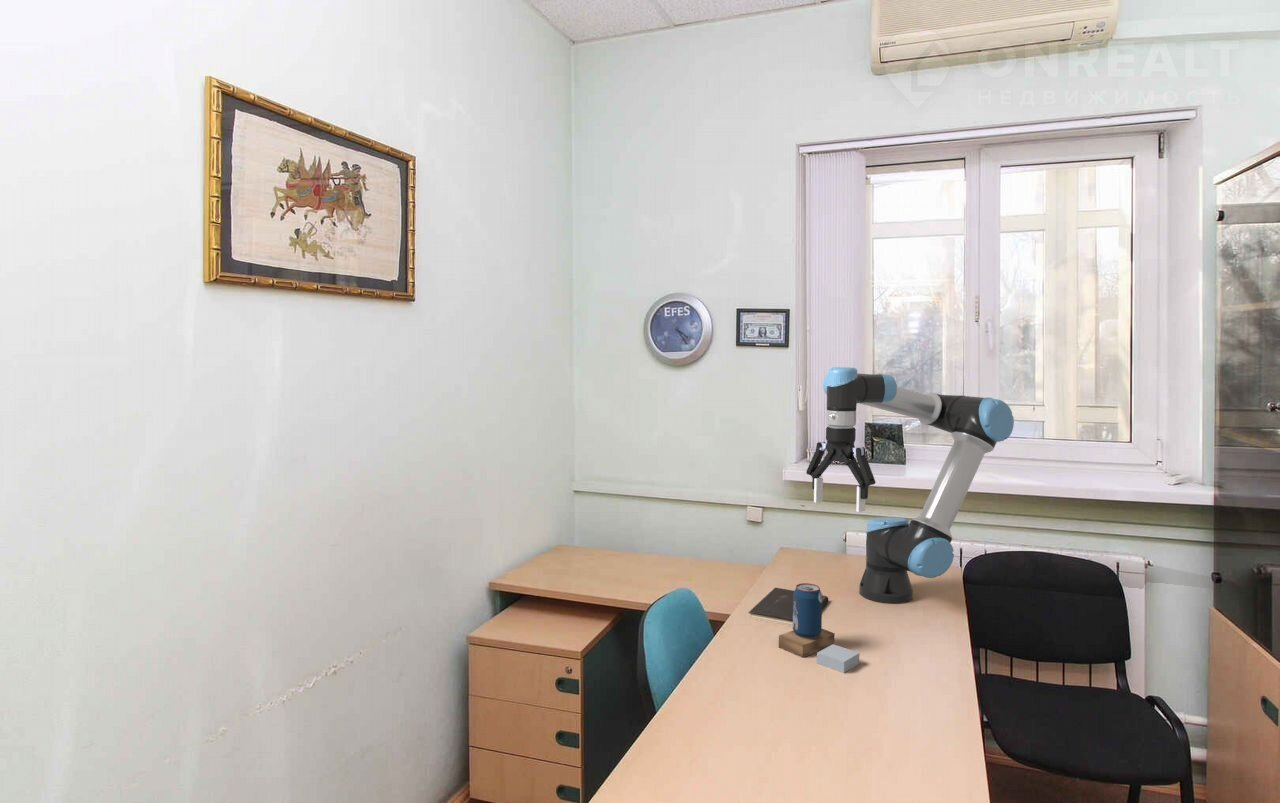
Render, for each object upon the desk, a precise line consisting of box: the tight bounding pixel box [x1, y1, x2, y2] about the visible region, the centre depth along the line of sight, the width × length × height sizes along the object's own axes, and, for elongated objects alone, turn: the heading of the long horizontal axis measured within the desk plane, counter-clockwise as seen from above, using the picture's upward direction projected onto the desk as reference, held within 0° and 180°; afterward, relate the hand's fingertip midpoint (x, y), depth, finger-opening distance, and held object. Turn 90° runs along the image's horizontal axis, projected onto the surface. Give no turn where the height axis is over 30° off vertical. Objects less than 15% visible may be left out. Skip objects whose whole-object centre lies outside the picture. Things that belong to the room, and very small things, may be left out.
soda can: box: [792, 582, 823, 639], centre depth 183 cm, size 7×7×12 cm
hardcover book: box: [748, 587, 829, 627], centre depth 209 cm, size 16×23×2 cm
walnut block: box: [778, 627, 835, 658], centre depth 184 cm, size 12×8×3 cm, turn 128°
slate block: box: [816, 643, 861, 674], centre depth 174 cm, size 7×7×3 cm
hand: (838, 506), depth 196 cm, fingers open, 13 cm apart
